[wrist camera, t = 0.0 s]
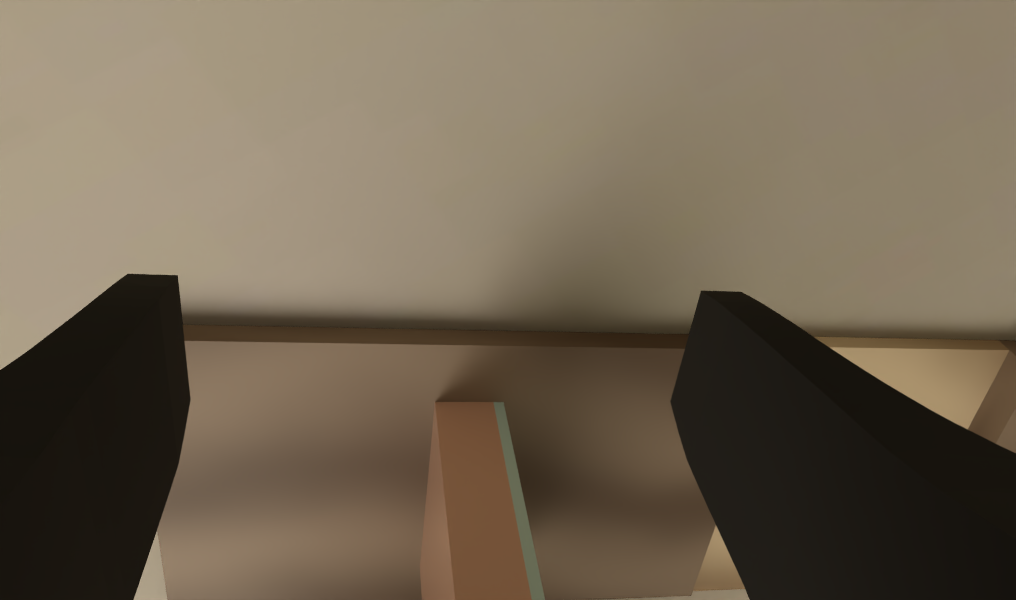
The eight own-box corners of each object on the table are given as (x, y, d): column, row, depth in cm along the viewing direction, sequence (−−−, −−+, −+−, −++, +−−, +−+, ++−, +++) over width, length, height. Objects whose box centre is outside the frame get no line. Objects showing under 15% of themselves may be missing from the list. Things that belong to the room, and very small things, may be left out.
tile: (479, 565, 28) (508, 776, 22) (419, 567, 27) (433, 782, 22) (503, 402, 24) (546, 603, 18) (435, 401, 24) (455, 607, 18)
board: (895, 561, 33) (926, 608, 31) (177, 586, 28) (163, 643, 26) (1016, 332, 27) (1063, 373, 25) (140, 314, 22) (119, 363, 21)
